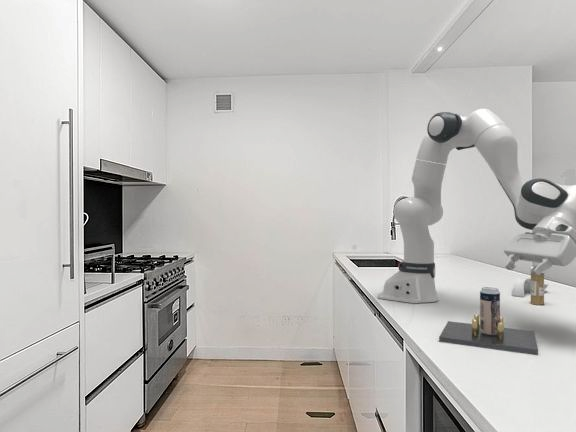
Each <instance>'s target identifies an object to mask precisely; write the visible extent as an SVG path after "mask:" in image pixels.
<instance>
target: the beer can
mask: <svg viewBox="0 0 576 432" xmlns="http://www.w3.org/2000/svg"><path fill="white" fill-rule="evenodd" d="M479 294H480V295H479V325H480V332H482V333H483V334H485V335H489V336H496V335H497V322H500V317H501V292H500V290H499V288H497V287H488V286H483V287H481V289H480V290H479Z"/></svg>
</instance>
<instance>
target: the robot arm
mask: <svg viewBox="0 0 576 432" xmlns="http://www.w3.org/2000/svg"><path fill="white" fill-rule="evenodd" d="M426 131H427V134H425V135H424V136H423V139H422V141H421V143H420V145H419V149H418V151H417V154H416V159H415V162H414V167H413V171H412V177H411V182H412V184H413V190H414V191H413V196H409V197H405V198H403V199H401V200H399V201H397V202H396V204H395V205H394V207H393V216H394V219H395V220H396V222H397V223H398V225H399V227H400V231H401V234H402V235H401V236H402V240H403V260H402V261H400V262H399V263H398V271H397V272H396V273H394V274H393V275H392V276H390V277H389V278H387V279H386V280H385V282H384V284H383V285H384V286H383V291H380V292H378V293H377V298H378V299H381V300H387V301H396V302H401V303H402V302H404V303H408V304H409V303H410V304H421V303H434V302H438V301H439V298H438V294H437V289H436V282H435V281H436V280H435V278H436V263H435V242H434V240H433V239H432V236H431V235H430V234H431V233H430V230H429V229H430V228H429V226H432V225H435V224H437V223H438V222H439V221H441V219H442V218H443V215H444V207H443V205H442V186H443V185H442V184H443V180H444V175H445V171H446V167H447V163H448V157H449V155H450V153H451V151H452V150H454V149H456V150H457V151H462V150H465V149H471V148H476V149H477V151H478V153H479V154H480V155H481V156H482V158H483V159H484V161H485V162H486V164H487V165H488V167H489V168H490V170H491V171H492V173H493V174H494V176H495V177H496V179H497V181H498V183H499V185H500V187H501V188H502V189H503V192H505V195H506V196H507V198H508V199H509V202H510V203H511V204H512V206H513V212H514V218H515V221H516V223H517V224H518V225H519V226H520V227H522V228H524V229H527V230H530V231H532V232H529V231H527V232H524V233H519V234H518V235H516V236H515V237H513V239H511V240H510V241H509V242H508V243H507V244H506V245H505V246H504V248H503V253H504V254H505V255H506V256H507V257H508V259H507V262H506V263H505V265H504V267H505V269H507V270H510V271H513V270H514V269H515V268H516V265H515V264H516V263H517V262H518V261H523V262H524V261H525V262H532V263H539V264H537V265H534V266H532V267H533V268H532V269H531V271H532V272H533V274H535V275H540V274H541V273H542V272H543V271H544V270H545V271H546V270H548V269H551V268H552V266H559V267H566V266H568V265H570V264H571V263H572V262H573V261H574V260H575V259H576V184H572V185H564V184H559V183H555V182H553V181H551V180H549V179H547V178H534V179H530V180H528V181H526V182H525V180H524V179H523V177H522V175H521V173H520V170H519V166H518V165H519V162H518V146H519V145H518V141H517V139H516V137H515V135H514V133H513V131H512V130H511V129H510V127H509V126H508V125H507V124H506V123H505V121H503V120H502V118H500V116H498V115H497V114H496V113H494V112H493V111H492V110H491V109H488V108H479V109H476V110H474V111H472V112H471V113H470V114H468V115H463V114H458V113H453V112H449V111H447V112H446V111H442V112H441V111H440V112H437V113H435V114H434V115H433V116H431V118H430V119H429V120H428V123H427V128H426Z"/></svg>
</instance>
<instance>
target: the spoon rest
mask: <svg viewBox="0 0 576 432" xmlns="http://www.w3.org/2000/svg"><path fill="white" fill-rule="evenodd" d="M530 284H531V278H529V277H526V278H523V277H517V279H515V281H514V284H513V286H512V289H511V296H512V297H518V298H519V297H520V298H524V297H525V293H530ZM548 286H549V284H548V283H544V291H545V290H546V289H547V288H548Z"/></svg>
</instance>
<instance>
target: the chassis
mask: <svg viewBox="0 0 576 432" xmlns="http://www.w3.org/2000/svg"><path fill="white" fill-rule="evenodd" d="M438 339H439V341H438V342H440V343H441V342H442V343H449V344H455V345H464V346H469V347H470V346H471V347H476V348H485V349H492V350H498V351H505V350H506V351H507V352H514V353H519V354H520V353H521V354H527V355H528V354H529V355H535V356H536V355H538V356H539V347H538V342H537V338H536V333H535V330H530V329H529V330H528V329H522V328H521V329H520V328H511V327H505V318H504V317H502V316H500V322H497V335H496V336H489V335H485V334H483V333H482V332H480V314H473V318H472V319H471V323H467V322H458V321H449V320H447V322H446V324H445V326H444V328H443V330H442V331H441V333H440V335H439V338H438Z"/></svg>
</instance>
